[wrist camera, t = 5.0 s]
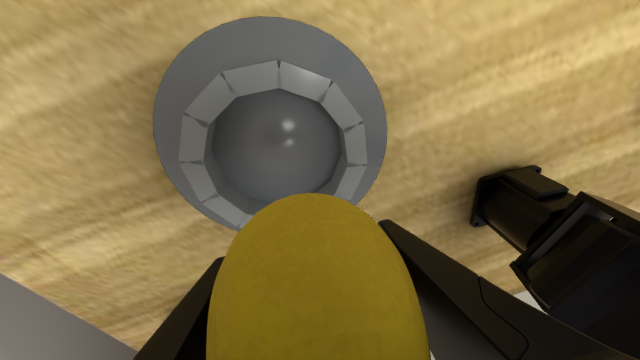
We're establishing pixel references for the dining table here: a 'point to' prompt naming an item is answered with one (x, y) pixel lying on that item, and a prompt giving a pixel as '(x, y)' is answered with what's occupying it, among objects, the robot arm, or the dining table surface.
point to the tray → (267, 119)
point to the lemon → (314, 288)
